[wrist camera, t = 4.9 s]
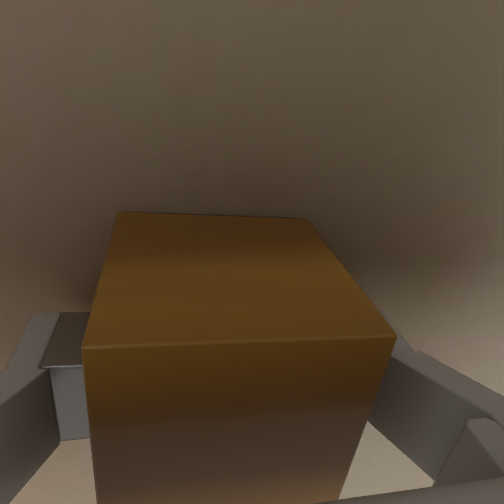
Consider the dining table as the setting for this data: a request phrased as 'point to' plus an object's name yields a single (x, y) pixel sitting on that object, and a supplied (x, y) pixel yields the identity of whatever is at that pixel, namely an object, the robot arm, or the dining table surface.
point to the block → (227, 362)
